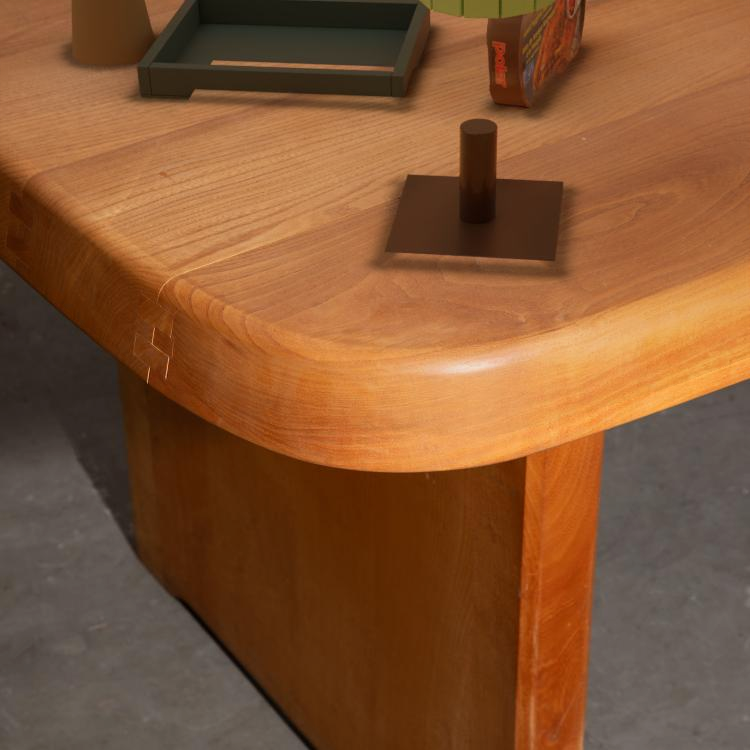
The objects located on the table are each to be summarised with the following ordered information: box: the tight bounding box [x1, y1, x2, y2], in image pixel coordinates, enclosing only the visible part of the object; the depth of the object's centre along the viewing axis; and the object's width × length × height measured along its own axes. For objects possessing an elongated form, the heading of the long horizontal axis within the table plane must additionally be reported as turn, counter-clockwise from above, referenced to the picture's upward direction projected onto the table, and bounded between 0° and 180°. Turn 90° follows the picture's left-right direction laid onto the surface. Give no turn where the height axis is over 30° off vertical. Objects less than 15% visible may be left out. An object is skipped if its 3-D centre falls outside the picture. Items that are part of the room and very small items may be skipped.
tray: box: [136, 0, 431, 100], centre depth 100 cm, size 18×14×3 cm
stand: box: [384, 118, 565, 262], centre depth 79 cm, size 9×9×6 cm
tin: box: [485, 0, 587, 109], centre depth 95 cm, size 15×3×8 cm, turn 158°
